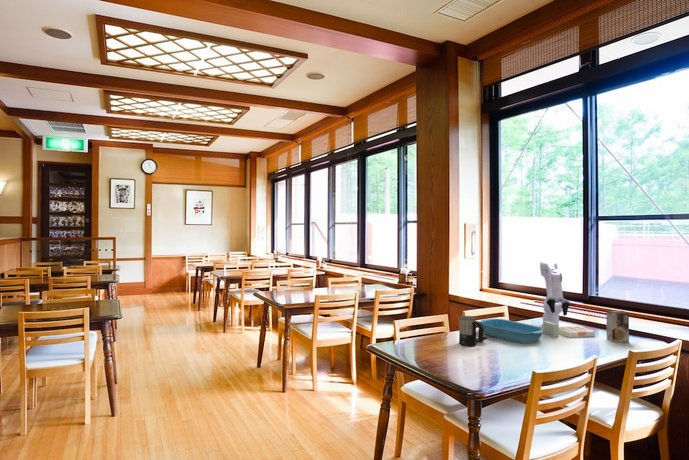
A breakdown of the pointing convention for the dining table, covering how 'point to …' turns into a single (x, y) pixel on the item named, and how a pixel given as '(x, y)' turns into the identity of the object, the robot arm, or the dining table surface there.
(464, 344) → the milk frother
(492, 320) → the casserole dish
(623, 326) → the coffee box
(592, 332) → the slot rack
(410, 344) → the dining table surface
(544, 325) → the blanking panel
